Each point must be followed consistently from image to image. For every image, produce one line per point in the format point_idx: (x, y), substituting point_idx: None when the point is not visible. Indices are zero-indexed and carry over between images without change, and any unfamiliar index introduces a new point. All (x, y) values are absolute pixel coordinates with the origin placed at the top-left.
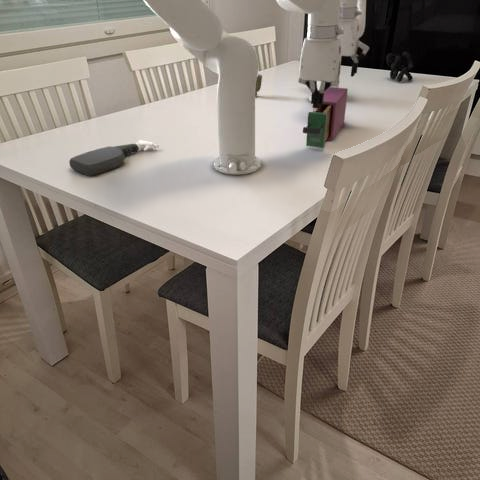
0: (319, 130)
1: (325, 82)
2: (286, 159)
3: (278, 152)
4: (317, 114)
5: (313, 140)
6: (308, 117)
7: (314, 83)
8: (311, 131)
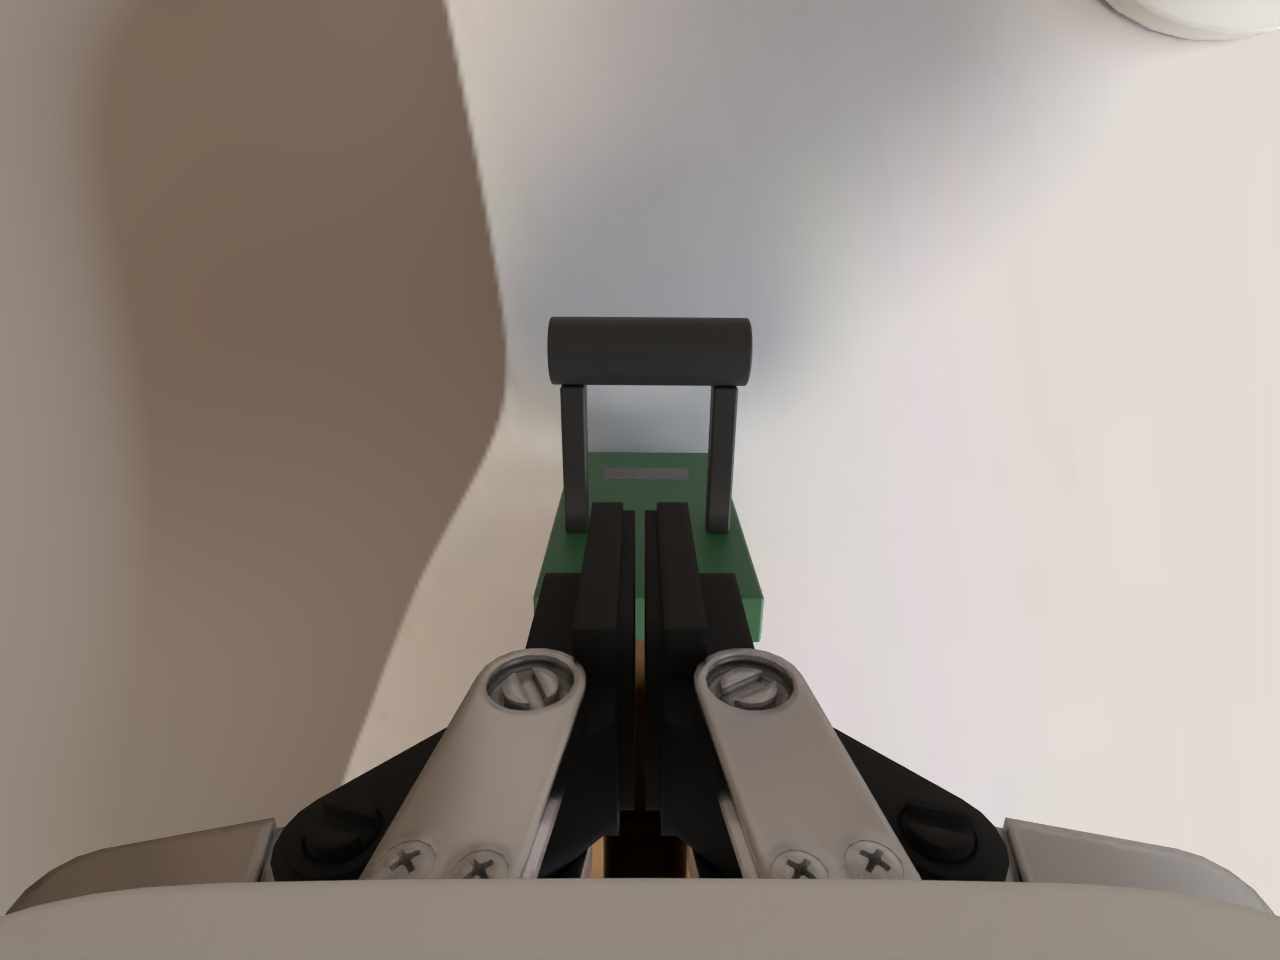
0: (554, 329)
1: (374, 866)
2: (822, 144)
3: (921, 288)
4: (643, 590)
5: (660, 470)
6: (748, 567)
7: (736, 827)
8: (646, 319)
